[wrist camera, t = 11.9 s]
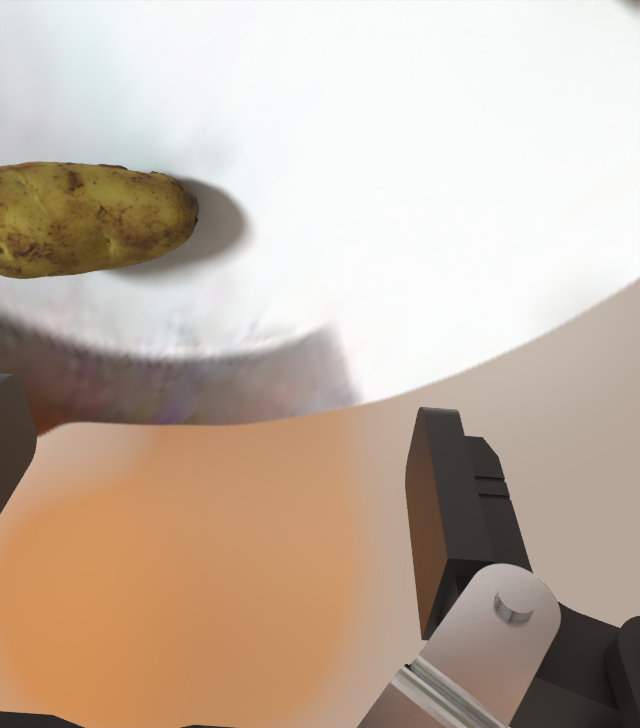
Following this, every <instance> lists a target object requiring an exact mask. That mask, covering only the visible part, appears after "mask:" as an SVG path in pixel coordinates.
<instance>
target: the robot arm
mask: <svg viewBox="0 0 640 728" xmlns="http://www.w3.org/2000/svg"><path fill="white" fill-rule="evenodd" d="M36 443H37V435H36V429H35V426H34V422H33V419H32V415H31V412H30V408H29V405H28V401H27V398H26V394H25V391H24V387H23V384H22V381H21V379H20V378H19V377H18V376H17V375H14V374H1V373H0V513H1V512H2V510H3V508H4V507H5V505H6V504H7V502H8V500H9V499H10V497H11V495H12V493H13V491H14V490H15V488H16V487H17V485H18V483H19V482H20V480H21V478H22V477H23V475H24V473H25V472H26V470H27V468H28V467H29V465H30V463H31V461H32V459H33V457H34V454H35V450H36ZM504 479H505V478H504V475H503V471H502V468H501V464H500V461H499V457H498V456H497V455H496V453H495V452H494V451H493V450H492V448H491V447H490V446H489V445H488V443H486V441H485V440H484V439H483V437H472V436H471V437H470V436H465V435H464V431H463V427H462V423H461V418H460V415H459V412H458V410H454V409H441V408H427V407H420V408H419V410H418V414H417V418H416V422H415V427H414V432H413V436H412V441H411V446H410V450H409V454H408V459H407V465H406V476H405V488H406V489H405V490H406V499H407V509H408V518H409V527H410V537H411V546H412V555H413V564H414V574H415V583H416V592H417V601H418V611H419V619H420V629H421V638H422V640H428V642H427V643H426V645H425V646H424V648H423V649H422V650H421V652H420V653H419V655H418V656H417V657H416V659H415V660H414V661H413V662H412V663H411V664H410V665H408V664H405V665H404V666H403V667H402V668H401V669H400V670H399V671H398V672H397V673H396V675H395V676H394V677H393V678H392V680H391V681H390V683H389V684H388V686H387V687H386V688H385V690H384V691H383V692H382V694H381V695H380V696H379V698H378V699H377V700H376V702H375V703H374V705H373V706H372V707H371V709H370V710H369V712H368V713H367V714H366V716H365V717H364V718H363V720H362V721H361V723H360V724H359V725H358V727H357V728H508V726H509V727H511V728H640V616H636V617H633V618H631V619H629V620H628V621H626V622H625V623H624V624H623V626H622V627H621V628H618V627H616V626H613V625H610V624H607V623H604V622H602V621H599V620H597V619H594V618H591V617H588V616H586V615H583V614H580V613H578V612H576V611H573V610H571V609H569V608H567V607H566V606H564V605H562V604H561V603H560V602H558V601H557V600H556V597H555V596H554V594H553V593H552V591H551V589H550V588H549V587H548V586H547V585H546V584H545V583H544V582H543V581H542V580H541V579H540V578H539V577H537V576H536V575H534V574H533V571H532V569H531V566H530V563H529V559H528V556H527V553H526V549H525V546H524V542H523V539H522V536H521V532H520V529H519V525H518V522H517V519H516V515H515V512H514V509H513V505H512V502H511V500H510V495H509V491H508V488H507V484H506V483H505V482H504ZM0 728H84V727H81V726H79V725H77V724H74V723H71V722H69V721H66V720H64V719H61V718H59V717H56V716H54V715H45V714H30V713H15V712H2V711H0ZM182 728H231V727H217V726H203V725H192V726H187V727H182Z"/></svg>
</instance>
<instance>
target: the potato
mask: <svg viewBox="0 0 640 728" xmlns="http://www.w3.org/2000/svg"><path fill="white" fill-rule="evenodd" d="M198 211H199V209H198V202H197V198H196V197H195V196H194V195H193V194H192V193H191V192H190V191H189V189H188V188H187V187H186V186H184V185H183V184H182V183H180V182H179V181H177V180H175V179H173V178H171V177H168V176H166V175H165V174H162V173H157V172H154V171H152V172H151V173H141V172H137V171H135V172H134V171H130V170H127V168H125V167H123V166H118V165H105V164H99V165H89V164H82V163H81V164H76V163H69V162H68V163H59V162H27V163H22V164H17V165H7V166H0V275H2V276H5V277H10V278H18V279H29V278H38V277H45V276H64V275H75V274H82V273H87V272H92V271H99V270H107V269H115V268H120V267H125V266H130V265H134V264H138V263H142V262H145V261H149V260H152V259H155V258H158V257H160V256H162V255H164V254H166V253H168V252H170V251H172V250H174V249H175V248H177V247H178V246H180V245H181V244H183V243H184V242H185V241H186V240H187V239H188V238H189V237H190V236H191V234H192V233H193V230H194V227H195V225H196V223H197V221H198V219H197V215H198Z"/></svg>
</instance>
